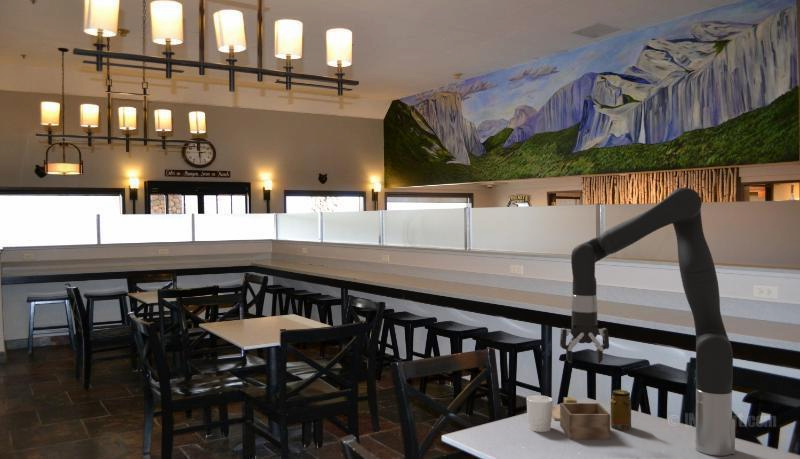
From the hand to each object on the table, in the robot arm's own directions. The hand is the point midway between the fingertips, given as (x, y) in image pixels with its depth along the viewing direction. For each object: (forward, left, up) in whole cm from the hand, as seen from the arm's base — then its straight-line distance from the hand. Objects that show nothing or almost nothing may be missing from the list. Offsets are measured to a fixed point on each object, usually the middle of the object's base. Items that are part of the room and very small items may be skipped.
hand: (584, 362), depth 198 cm
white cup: (+13, -4, -22) cm, 26 cm away
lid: (0, -18, -22) cm, 28 cm away
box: (0, 0, -22) cm, 22 cm away
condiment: (-13, -4, -22) cm, 26 cm away
